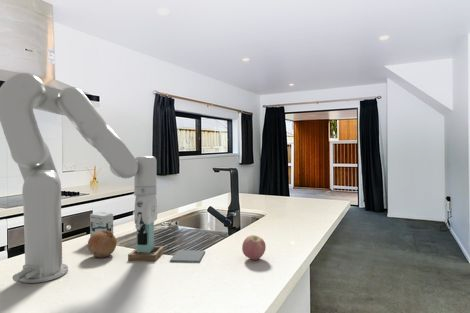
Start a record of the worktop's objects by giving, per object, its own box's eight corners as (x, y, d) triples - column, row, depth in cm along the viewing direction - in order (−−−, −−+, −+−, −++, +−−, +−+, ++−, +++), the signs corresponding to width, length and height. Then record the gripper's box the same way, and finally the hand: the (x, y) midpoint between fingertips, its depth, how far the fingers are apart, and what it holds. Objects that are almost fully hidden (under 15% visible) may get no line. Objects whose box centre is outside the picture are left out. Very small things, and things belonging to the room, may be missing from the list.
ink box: (89, 242, 124) (89, 213, 124) (100, 239, 129) (99, 211, 128) (104, 245, 120) (103, 215, 120) (114, 241, 124) (113, 213, 124)
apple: (246, 264, 98) (245, 240, 98) (239, 256, 105) (239, 234, 105) (268, 262, 100) (268, 238, 100) (260, 254, 107) (260, 232, 107)
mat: (199, 262, 100) (199, 260, 100) (170, 261, 101) (170, 259, 101) (205, 252, 110) (205, 250, 110) (178, 251, 111) (178, 250, 111)
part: (149, 252, 104) (149, 223, 104) (136, 251, 105) (136, 223, 105) (153, 248, 109) (153, 220, 109) (141, 247, 109) (141, 220, 109)
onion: (113, 262, 110) (126, 236, 111) (96, 264, 101) (110, 236, 102) (95, 250, 113) (107, 225, 114) (76, 251, 104) (90, 224, 105)
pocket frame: (155, 261, 102) (155, 255, 102) (128, 260, 103) (128, 254, 103) (164, 251, 111) (164, 246, 111) (139, 251, 112) (139, 245, 112)
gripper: (146, 194, 98) (146, 250, 98) (163, 188, 115) (163, 236, 115) (124, 193, 99) (124, 249, 99) (144, 188, 115) (144, 235, 116)
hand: (145, 241), depth 107 cm, fingers closed on part, 4 cm apart
